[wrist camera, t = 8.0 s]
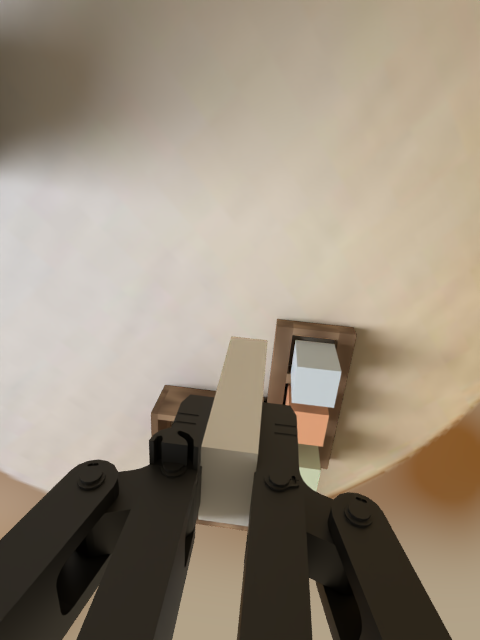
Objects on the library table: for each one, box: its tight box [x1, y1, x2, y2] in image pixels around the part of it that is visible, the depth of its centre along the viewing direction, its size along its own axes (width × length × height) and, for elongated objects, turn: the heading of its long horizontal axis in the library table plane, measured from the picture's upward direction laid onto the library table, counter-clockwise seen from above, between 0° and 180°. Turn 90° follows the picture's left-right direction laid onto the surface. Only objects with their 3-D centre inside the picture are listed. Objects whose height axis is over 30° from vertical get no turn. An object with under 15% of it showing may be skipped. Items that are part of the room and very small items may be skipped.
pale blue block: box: [291, 340, 342, 408], centre depth 43 cm, size 4×4×6 cm
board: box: [267, 319, 357, 469], centre depth 49 cm, size 9×20×2 cm, turn 175°
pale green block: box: [298, 444, 321, 491], centre depth 48 cm, size 4×4×6 cm
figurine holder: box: [151, 385, 264, 531], centre depth 52 cm, size 13×18×6 cm
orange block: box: [285, 383, 329, 447], centre depth 47 cm, size 4×4×6 cm
